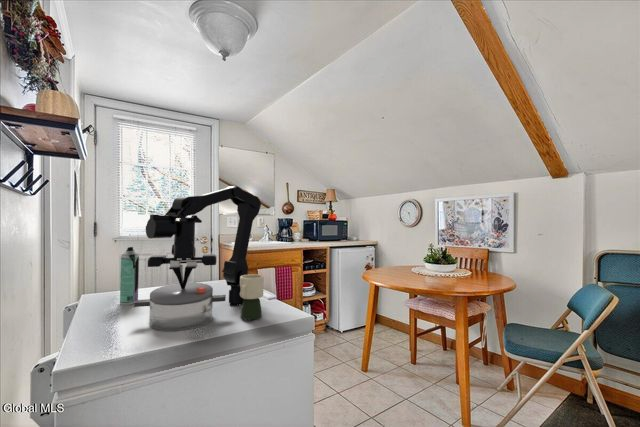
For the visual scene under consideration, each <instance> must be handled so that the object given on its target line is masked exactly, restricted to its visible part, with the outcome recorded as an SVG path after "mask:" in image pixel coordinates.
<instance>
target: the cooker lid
mask: <svg viewBox="0 0 640 427" xmlns="http://www.w3.org/2000/svg"><path fill="white" fill-rule="evenodd" d="M213 290H214V288H213V287H212V286H211V285H209V284H208V283H201V282H196V280H194V281H193V280H191V281H190V280H188V281H187V284H186V287H185V289H181V286H180V283H179V282H178V283H173V284H167V285H163V286H161V287H158V288H155V289H153V290H152V291H151V292H150V294H149V299H150V300H151V301H152V302H153V303H156V304H161V305H183V304H190V303H195V302H199V301H202V300H204V299H207V298H209V297H210V296H211V295H212V294H213V292H214V291H213Z"/></svg>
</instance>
